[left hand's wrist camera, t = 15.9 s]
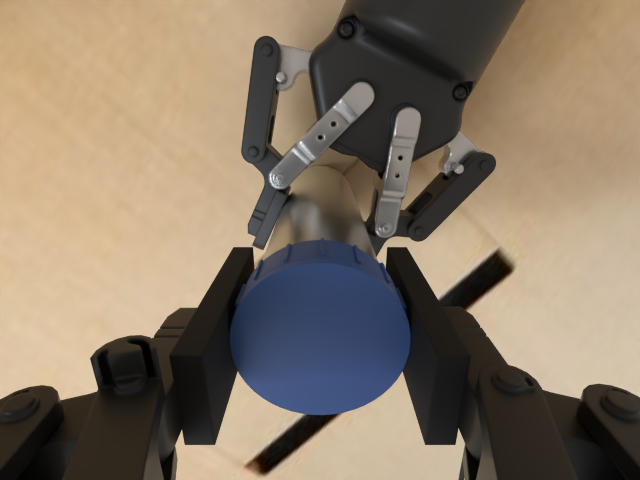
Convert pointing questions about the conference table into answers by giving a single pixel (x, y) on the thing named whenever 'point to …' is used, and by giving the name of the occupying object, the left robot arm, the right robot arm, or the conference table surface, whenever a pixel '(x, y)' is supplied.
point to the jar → (320, 212)
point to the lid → (320, 328)
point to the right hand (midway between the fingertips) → (301, 260)
